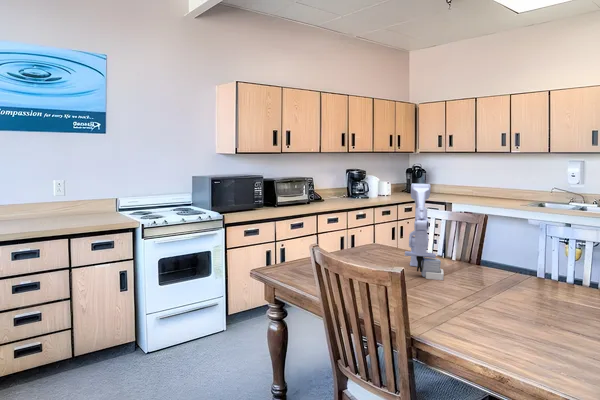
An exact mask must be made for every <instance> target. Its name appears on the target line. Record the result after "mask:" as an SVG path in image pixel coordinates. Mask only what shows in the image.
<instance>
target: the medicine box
mask: <svg viewBox="0 0 600 400" xmlns="http://www.w3.org/2000/svg"><path fill="white" fill-rule="evenodd" d="M441 265H442V261H441V260H440V258H428V257H425V258H423V260H422V272H420V274H421V276H422V277H423V278H426V272H431V273H440V269H441Z"/></svg>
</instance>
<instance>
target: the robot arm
mask: <svg viewBox="0 0 600 400" xmlns="http://www.w3.org/2000/svg"><path fill="white" fill-rule="evenodd" d="M431 187H432V186H431V183H411V185H410V198H411V199H412V200H414V203H415V207H414V208H415V210H414V214H415V215H414V222H413V223H414V225H413V228H414V230H413V231H411V232H409V235H408V236H409V237H408V247H409V248H410V251H406V250H405V251H404V257H410V262H409V267H416V272H418V273H419V272H420V273H421V272H422V260H423V258H436V256H437V253H434V252H433V253H432V252H427V249H428V247H429V235H428V232H429V229H430V226H429V225H430V223H429V218H428V209H427V208H426V207H425V205H426V200H429V199H430V195H431ZM436 259H437V258H436Z"/></svg>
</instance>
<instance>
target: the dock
mask: <svg viewBox="0 0 600 400" xmlns="http://www.w3.org/2000/svg"><path fill="white" fill-rule="evenodd" d="M444 276H445V275H444V269H443V268H440V273H431V272H426V277H425V279H426V280H437V281H444Z"/></svg>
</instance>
